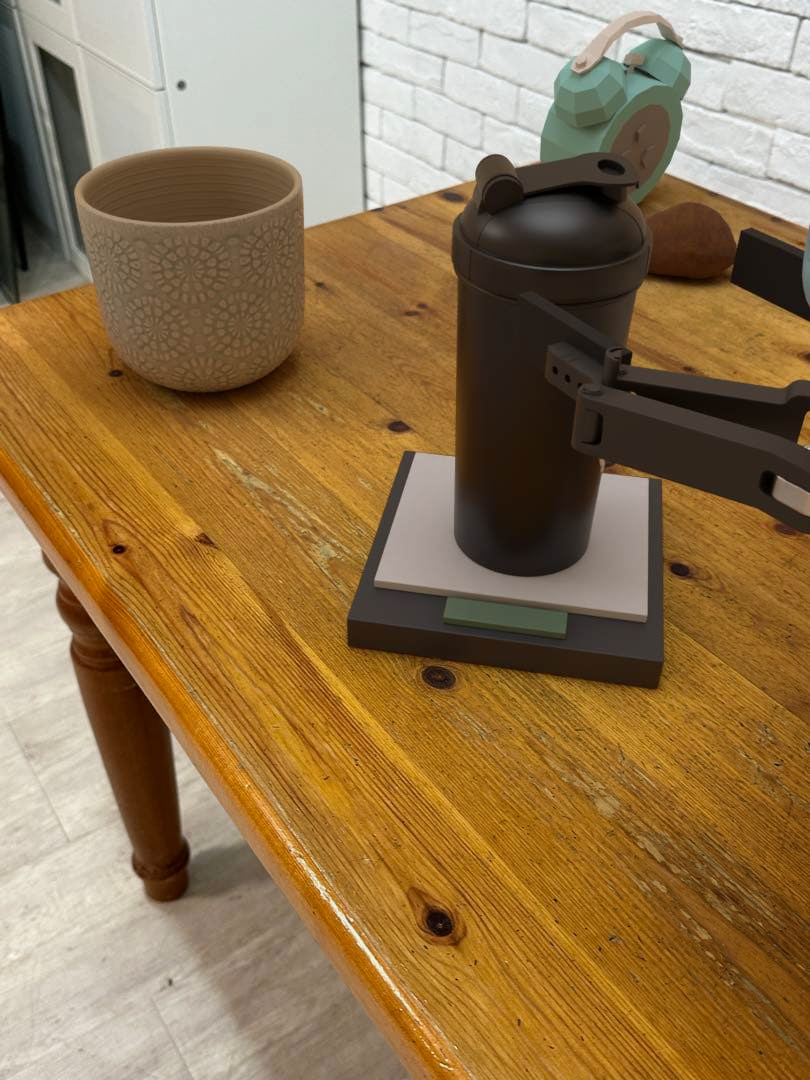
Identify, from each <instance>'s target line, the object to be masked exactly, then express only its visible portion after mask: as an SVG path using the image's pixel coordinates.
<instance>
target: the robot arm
mask: <svg viewBox="0 0 810 1080" xmlns="http://www.w3.org/2000/svg"><path fill="white" fill-rule="evenodd" d="M739 232H740V233H739V237H738V241H737V245H736V246H737V250H736V255H735V260H734V264H733V265H732V269H731V274H730V279H729V283H730V284H732V285H734V286H736V287H738V288H741V289H742V290H744V291H746V292H748V293H750V294H752V295H754V296H755V297H758V298H760V299H762V300H765V301H766V302H768V303H770V304H772V305H774V306H777V307H778V308H779V309H782V310H785V311H787V312H788V313H790V314H793V315H795V316H797V317H798V318H801V319H802V320H804V321H807V322H808V323H810V224H809V225H808V230H807V234H806V240H805V245H804V249H801V248H799V247H798V246H795V245H792V244H790V243H788V242H785V241H784V240H781V239H779V238H777V237H774V236H772V235H770V234H767V233H766V232H763V231H761V230H758V229H756V228H754V227H747V228H745V229H741V230H740V231H739ZM514 351H515V352H517V353H518V354H520V355H521V356H522V357H524V358H525V359H527V360H528V361H530V362H531V363H533V364H534V365H536V366H537V367H539V368H540V369H542V370H543V371H545V377H546V379H547V380H548V382H549V383H551V384H552V385H553V386H555V387H556V388H557V387H558V389H559V390H561V391H562V392H564V393H565V394H567V395H568V396H569V397H571V398H572V399H574V400H575V401H576V409H575V417H574V425H573V433H572V441H571V445H572V447H573V448H574V449H575V450H576V451H579V452H581V453H584V454H587V455H590V456H594V457H597V458H600V459H603V460H605V462H606V461H607V462H610V463H612V464H616V465H618V466H621V467H625V468H628V469H632V470H634V471H638V472H641V473H644V474H648V475H651V476H653V477H657V478H659V479H662V480H666V481H669V482H672V483H675V484H679V485H682V486H685V487H688V488H691V489H694V490H696V491H697V490H698V491H700V492H704V493H708V494H710V495H713V496H717V497H720V498H723V499H725V500H729V501H733V502H735V503H739V504H742V505H744V506H747V507H752V508H754V509H757V510H759V511H760V512H762V513H764V514H766V515H767V516H769V517H771V518H773V519H774V520H776V521H778V522H780V523H781V524H783V525H785V526H787V527H789V528H791V529H792V530H794V531H796V532H798V533H801V534H805V535H810V442H807V443H804V444H803V445H801V444H799V443H798V441H799V439H800V435H801V432H802V428H803V424H804V421H805V417H806V415H807V414H808V413H809V412H810V380H808V379H796V380H793V381H791V383H789V384H788V385H786V386H785V387H775V386H767V385H761V384H754V383H748V382H742V381H734V380H728V379H721V378H715V377H709V376H703V375H695V374H690V373H682V372H677V371H676V372H675V371H671V370H670V371H668V370H663V369H656V368H649V367H643V366H638V365H637V366H636V365H632V361H633V360H632V359H633V353H634V352H633V350H630V349H629V348H627V347H626V348H625V347H624V346H622V345H621V344H619V343H617V342H616V341H614V340H612V339H611V338H609V337H607V336H606V335H604V334H602V333H601V332H599V331H597V330H596V329H594V328H592V327H591V326H589V325H588V324H586V323H584V322H583V321H581V320H579V319H578V318H576V317H574V316H573V315H571V314H569V313H568V312H566V311H564V310H563V309H561V308H559V307H558V306H556V305H555V304H553V303H551V302H550V301H548V300H546V299H545V298H543V297H541V296H540V295H538V294H536V293H535V292H533V291H529V292H525V293H522V294H518V301H517V313H516V326H515V338H514Z"/></svg>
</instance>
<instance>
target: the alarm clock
mask: <svg viewBox="0 0 810 1080" xmlns="http://www.w3.org/2000/svg"><path fill="white" fill-rule="evenodd" d="M650 24H656V26H657V29H658V31H659V33H660V36H661V37H662V38H656V37H652V38H650V39H648V40H645V41H644V42H642V43H640V44H639V45H637V46H635V47H633V48H632V49H630V50H629V51H628V53H627V54H625V56H624V58H623V60H622V61H621V62H619V61H617V60H615V59H611V58H609V57H607V56H606V53H607V52H608V50H609V49H610V48H611V46H612V45H613V43H614V42H616V40H618V39H619V38H620V37H621V36H623V35H624V34H626V32H627V31H629V30H631V29H633V28H637V27H641V26H644V25H650ZM683 41H684V38H683V37H682V35H679V34H677V33H676V31H675V29H674V26H673V25H672V24H671V22H669V21H668V20H667V19H666V18H664V17H663V16H662V15H661V14H659V13H657V12H654V11H652V10H633V11H631V12H627V13H626V14H623V15H620V16H618V17H616V18H615V19H614V20H612V22H610V23H609V24H608V25H607V26H605V28H603V29H602V30H601V31H599V33H598V34H597V35H596V36H595V37H594V38H593V40H592V41H591V42H589V44H588V45H587V46H586V47H585V48H584V50H583V51H581V52H580V53H579V54H578V55H574V56H573V57H572V58H571V59H570V60H569V61H568V62H567V63H566V64H565V65H564V66H563V67H562V68H561V69H560V70H559V72H558V74H557V75H556V78H555V80H554V81H553V98H554V99H553V102H552V104H551V106H550V108H549V109H548V112H547V115H546V118H545V121H544V124H543V128H542V131H541V134H540V145H539V146H540V147H539V148H540V149H539V161H540V164H541V163H546V162H551V161H556V160H562V159H567V158H572V157H576V156H578V155H581V154H585V153H591V152H607V153H614V154H619V155H622V156H624V157H625V158H627V159H628V160H629V161H630V162H631V163H632V164H633V166H634V167H635V168H636V170H637V171H638V173H639V175H640V184H639V188H638V189H637V188H636V185H635V186H630V187H629V190H628V196H629V197H630V198H631V199H632V200H633V201H634V202H635V203H636V205H638V204H639V203H641V202H642V200H643V199H644V198H646V196H647V195H648V194H649V193H651V191H652V190H653V189H654V188H655V187H656V186H657V185H658V183H659V181H660V180H661V178H662V177H663V175H664V173H665V172H666V171H667V169H668V167H669V165H670V164H671V162H672V159H673V156H674V154H675V152H676V149H677V147H678V144H679V142H680V138H681V132H682V125H683V120H684V112H683V106H682V101H683V100H684V98H685V96H686V94H687V93H688V90H689V88H690V87H691V84H692V63H691V61H690V60H689V58H688V57H687V55H686V53H685V52H684V51H683V50H684V49H685V47H686V45H685V44H684V43H683Z"/></svg>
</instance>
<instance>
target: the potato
mask: <svg viewBox="0 0 810 1080" xmlns="http://www.w3.org/2000/svg"><path fill="white" fill-rule="evenodd" d="M644 220H645V223H646V224H647V225H648V226H649V228H650V230H651V232H652V235H653V245H652V251H651V257H650V263H649V269H648V274H649V273H650V274H656V275H662V276H675V277H684V278H688V279H691V280H702V279H703V280H704V279H708V278H712V277H715V276H718V275H720V274H722V273H723V272H725V271H726V270H728V269H729V268H730V267H732V266H733V264H734V260H735V255H736V250H737V246H738V245H737V242H736V240H735V237H734V233H733V231H732V229H731V227H730V225H729V223H727V221H726V220H725V219H724V217H723V216H722V214H721V213H720V212H718V211H717V210H716V209H715V208H713V207H710V206H708V205H706V204H704V203H700V202H695V201H684V202H681V203H678V204H675V205H673V206H671V207H669V208H666V209H664V210H661V211H659V212H656V213H654V214H653V215H651V216H649V217H647V218H646V219H644Z"/></svg>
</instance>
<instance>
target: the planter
mask: <svg viewBox="0 0 810 1080" xmlns="http://www.w3.org/2000/svg"><path fill="white" fill-rule="evenodd" d="M303 185H304V184H303V177H302V175H301V174H300V172H299V170H298V169H297V168H296V167H295V166H294V165H292V164H290V163H289V162H287V161H286V160H285V159H282V158H280V157H278V156H276V155H275V156H274V155H271V154H269V153H266V152H265V153H264V152H261V151H256V150H252V149H246V148H239V147H230V146H214V145H213V146H212V145H197V146H195V145H194V146H177V147H176V146H175V147H166V148H158V149H151V150H146V151H141V152H136V153H131V154H127V155H125V156H121V157H118V158H115V159H112V160H109V161H106V162H104V163H101V164H100V165H97V166H96V167H94V168H93V169H91V170H89V171H87V172H86V173H85V174H84V175H83V176H82V177H80V179H79V180H78V181H77V183H76V185H75V187H74V191H73V193H74V201H75V206H76V211H77V216H78V217H77V218H78V221H79V226H80V231H81V234H82V240H83V243H84V248H85V252H86V253H85V254H86V257H87V262H88V266H89V269H90V273H91V277H92V283H93V287H94V291H95V295H96V300H97V305H98V309H99V314H100V317H101V321H102V324H103V327H104V331H105V334H106V336H107V339H108V341H109V343H110V346H111V347H112V349H113V350H114V352H115V353H116V355H117V356H118V358H119V359H120V360H121V361H122V362H123V363H124V364H125V365H126V366H127V367H128V368H130V369H131V370H132V371H133V372H135V373H136V374H138V375H139V376H141V377H142V378H144V379H146V380H148V381H150V382H152V383H155V384H156V385H159V386H162V387H163V388H168V389H171V390H174V391H175V390H176V391H181V392H187V393H216V392H225V391H229V390H234V389H238V388H241V387H245V386H247V385H250V384H252V383H255V382H256V381H258V380H261V379H263V378H264V377H265V376H267V375H269V374H270V373H271V372H273V371H275V369H277V368H278V367H279V366H280V365H281V364H282V363H283V362H285V360H286V359H287V358H288V357H289V355H290V354H291V353H292V352H293V351H294V349H295V347H296V345H297V344H298V341H299V339H300V336H301V335H302V330H303V327H304V321H305V309H306V277H305V275H306V273H305V272H306V271H305V268H306V267H305V207H304V205H305V204H304V186H303Z"/></svg>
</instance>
